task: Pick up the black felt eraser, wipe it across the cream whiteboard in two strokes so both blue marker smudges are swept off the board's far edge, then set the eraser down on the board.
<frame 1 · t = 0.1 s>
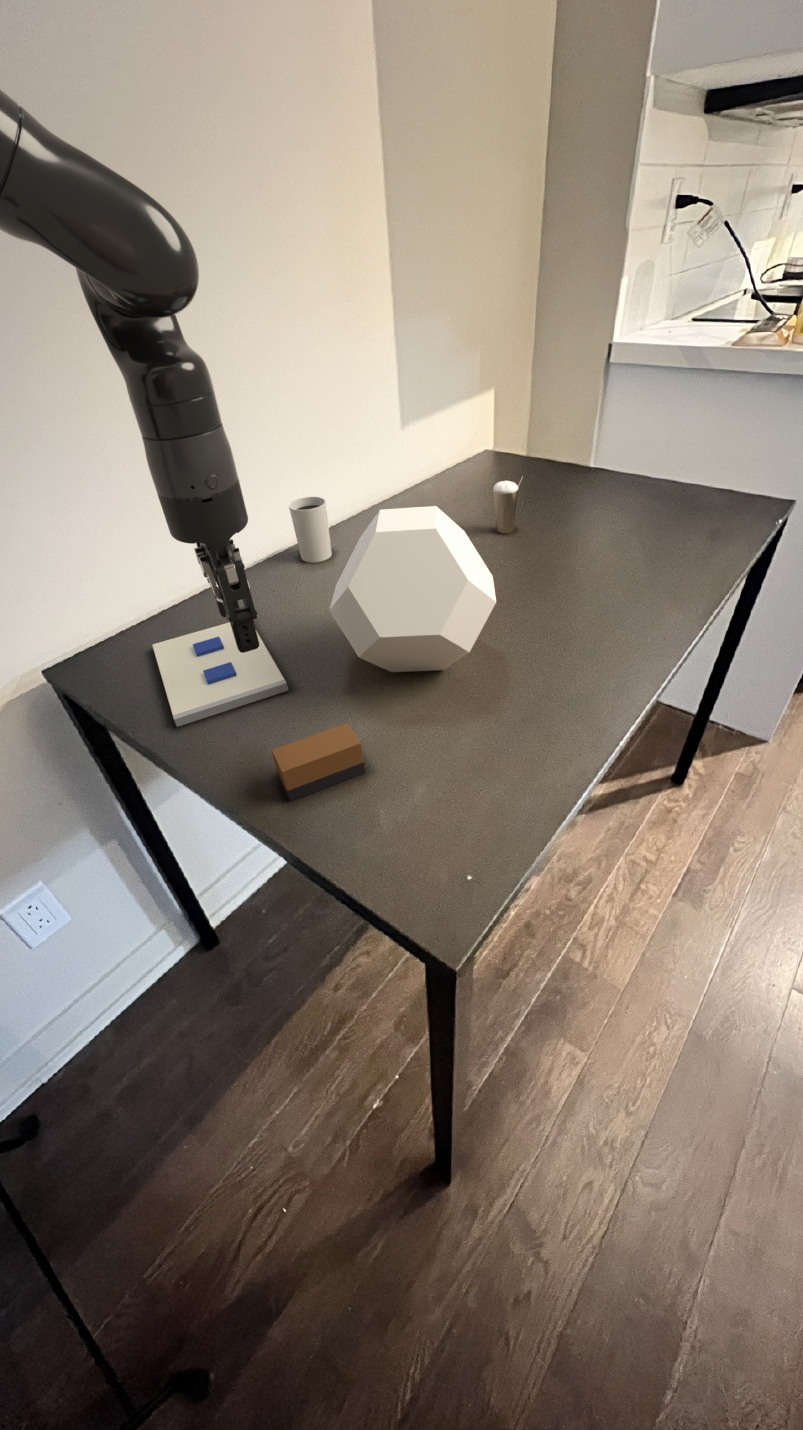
hand: (239, 631, 68), 15 cm above the table, tool pointing down, fingers open, 8 cm apart
smudge front: (220, 674, 86), point 1 cm above the table, touching whiteboard
smudge back: (208, 648, 92), point 1 cm above the table, touching whiteboard
eraser: (322, 776, 70), on the table
drinking glass: (316, 556, 117), on the table
whiteboard: (216, 667, 90), on the table
milkshake: (507, 530, 119), on the table
geometric form: (417, 657, 88), on the table
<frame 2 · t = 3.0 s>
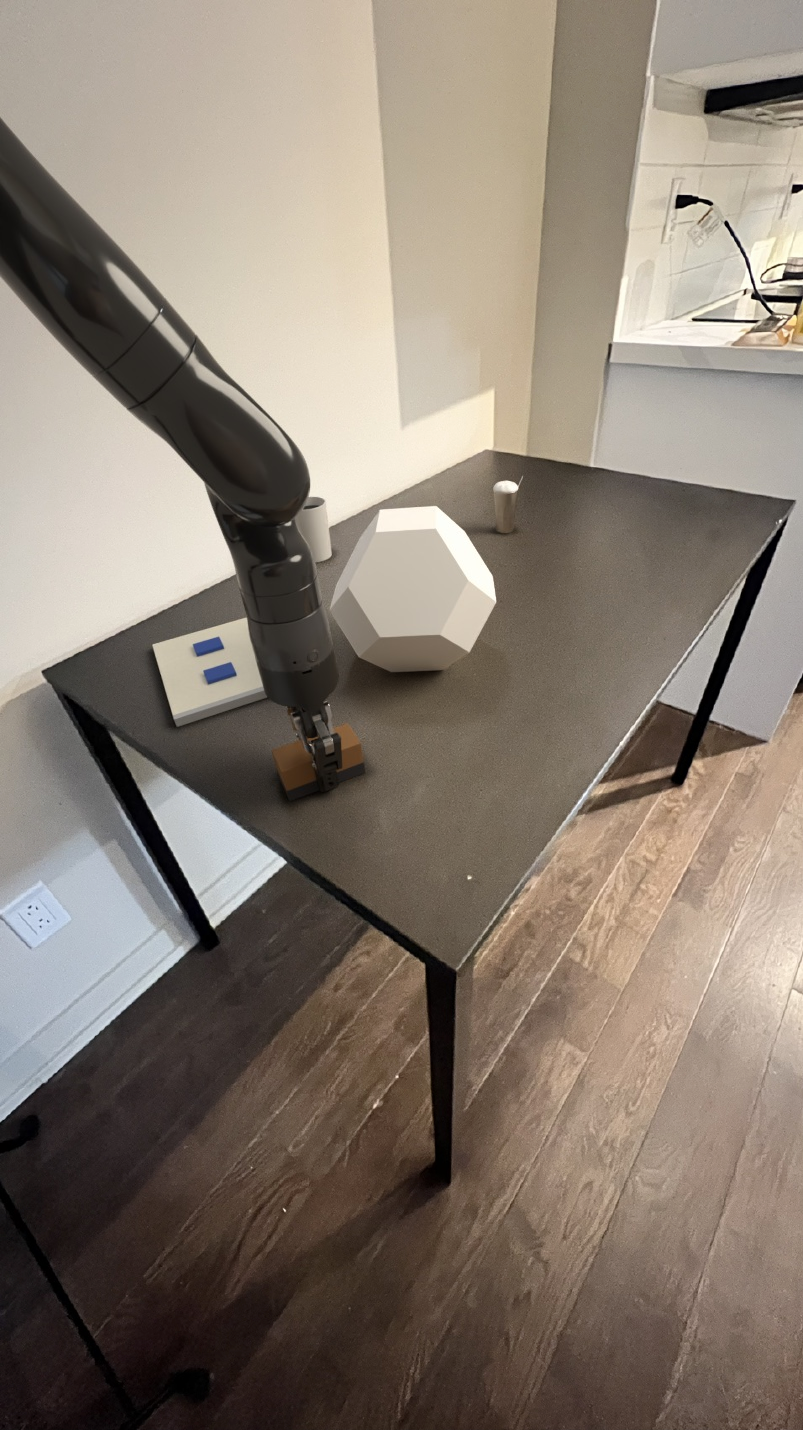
hand: (322, 774, 70), 0 cm above the table, tool pointing down, fingers closed on eraser, 4 cm apart
eraser: (322, 776, 70), on the table, touching gripper
everything else where it was.
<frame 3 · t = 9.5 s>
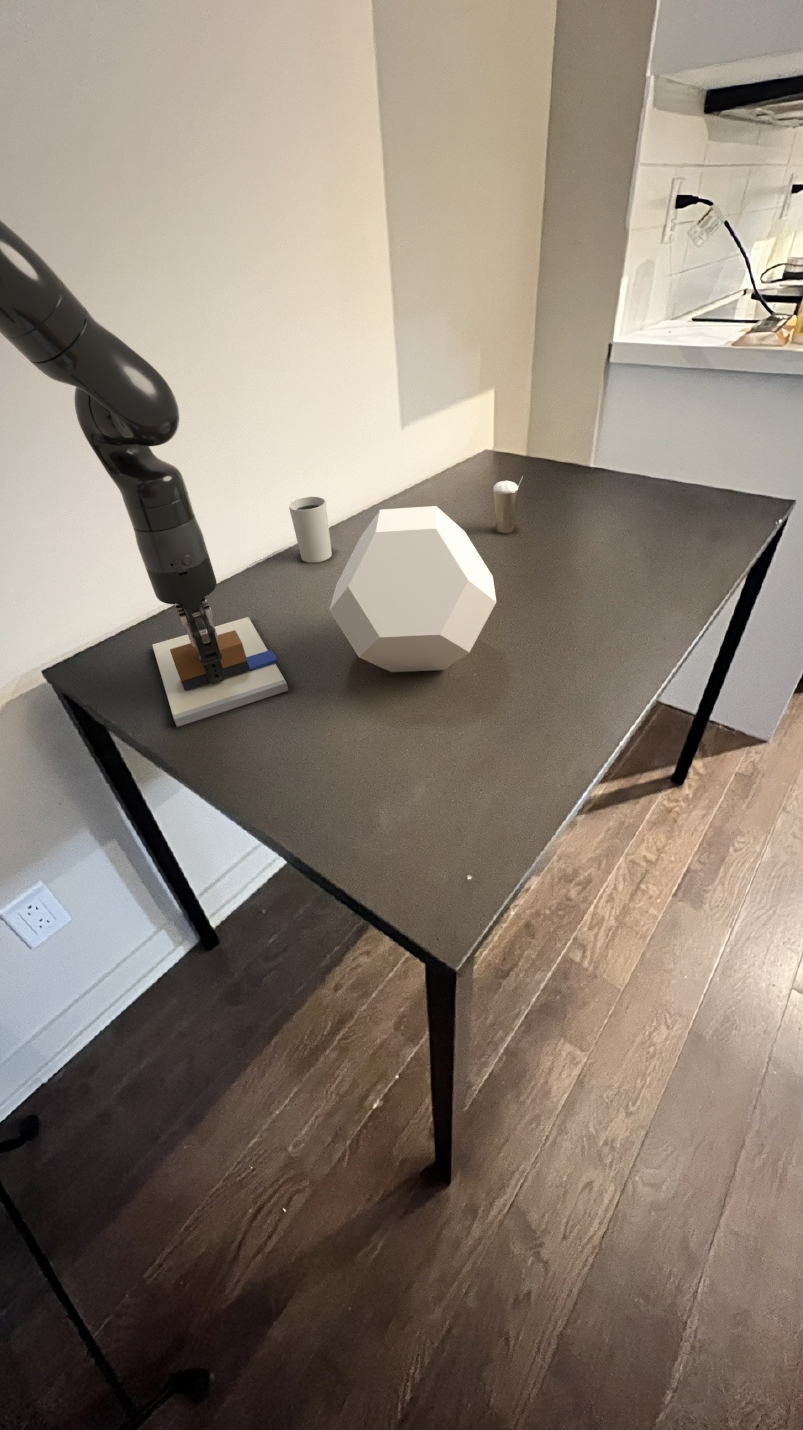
hand: (214, 672, 86), 2 cm above the table, tool pointing down, fingers closed on eraser, 4 cm apart
smudge front: (261, 662, 88), point 1 cm above the table, touching whiteboard
eraser: (214, 673, 86), point 2 cm above the table, touching gripper
everything else where it was.
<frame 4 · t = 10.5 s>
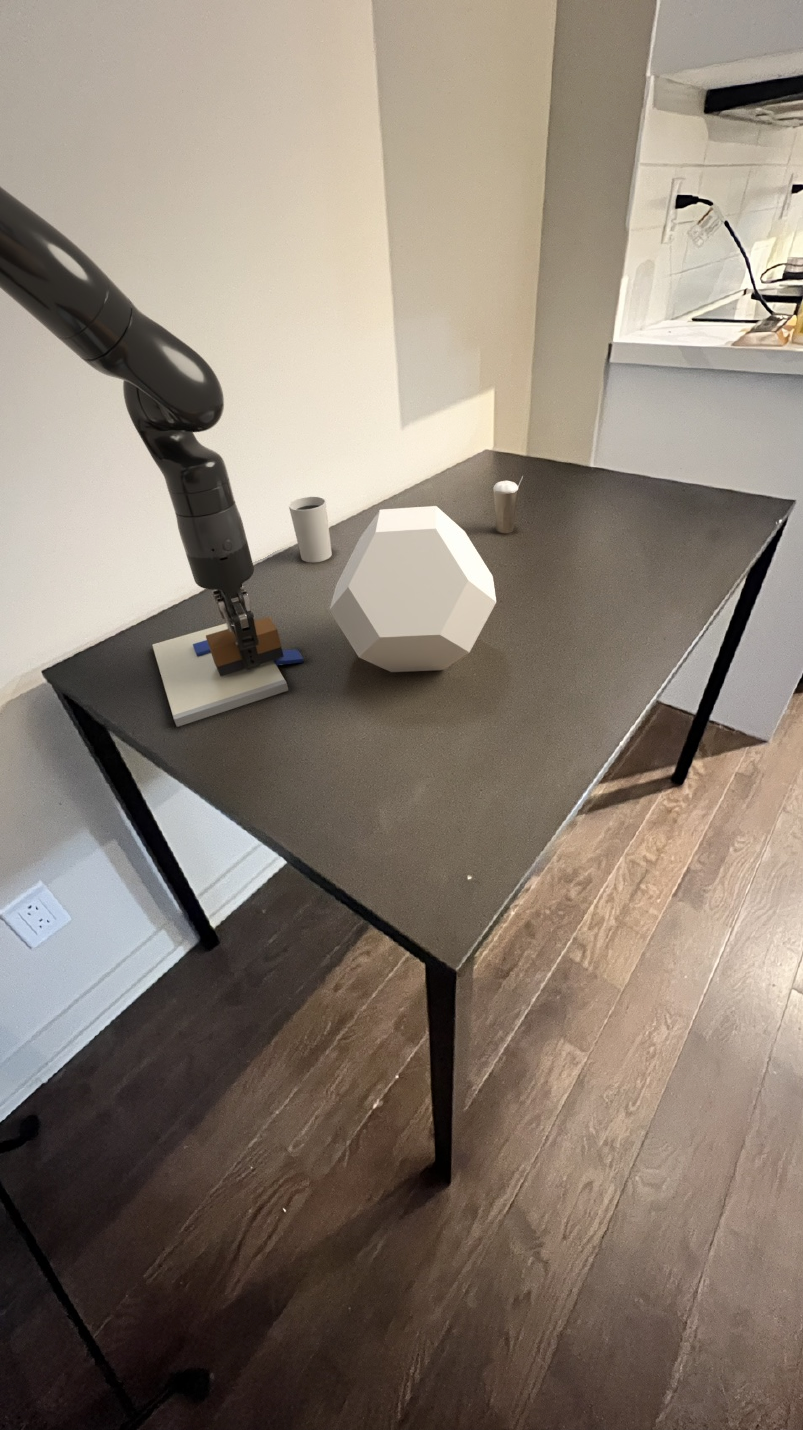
hand: (248, 658, 87), 2 cm above the table, tool pointing down, fingers closed on eraser, 4 cm apart
smudge front: (286, 658, 89), on the table, tilted 13°, touching whiteboard
eraser: (249, 659, 87), point 2 cm above the table, touching gripper
everything else where it was.
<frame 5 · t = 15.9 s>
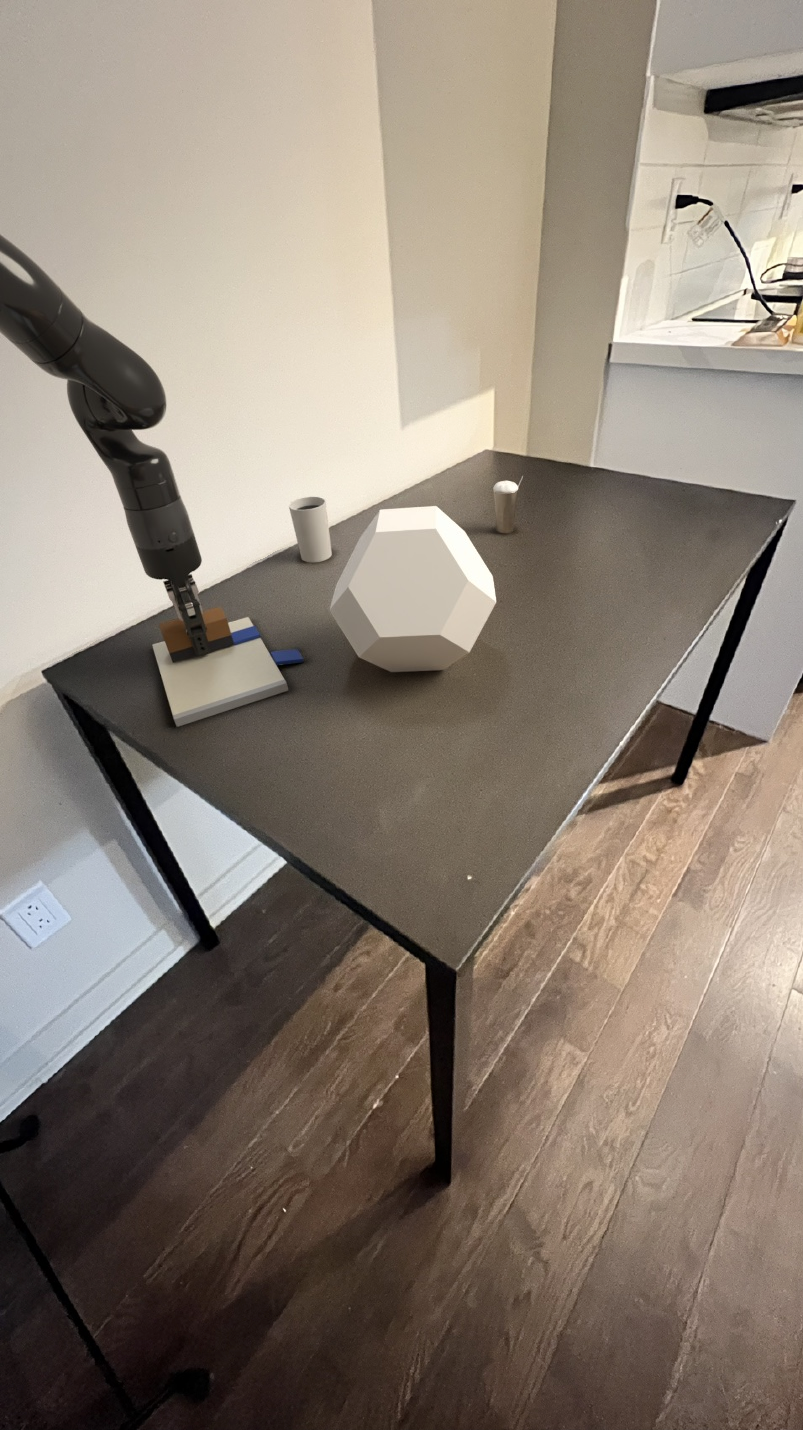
hand: (200, 646, 91), 2 cm above the table, tool pointing down, fingers closed on eraser, 4 cm apart
smudge back: (245, 637, 94), point 1 cm above the table, touching whiteboard
eraser: (201, 647, 92), point 2 cm above the table, touching gripper
everything else where it was.
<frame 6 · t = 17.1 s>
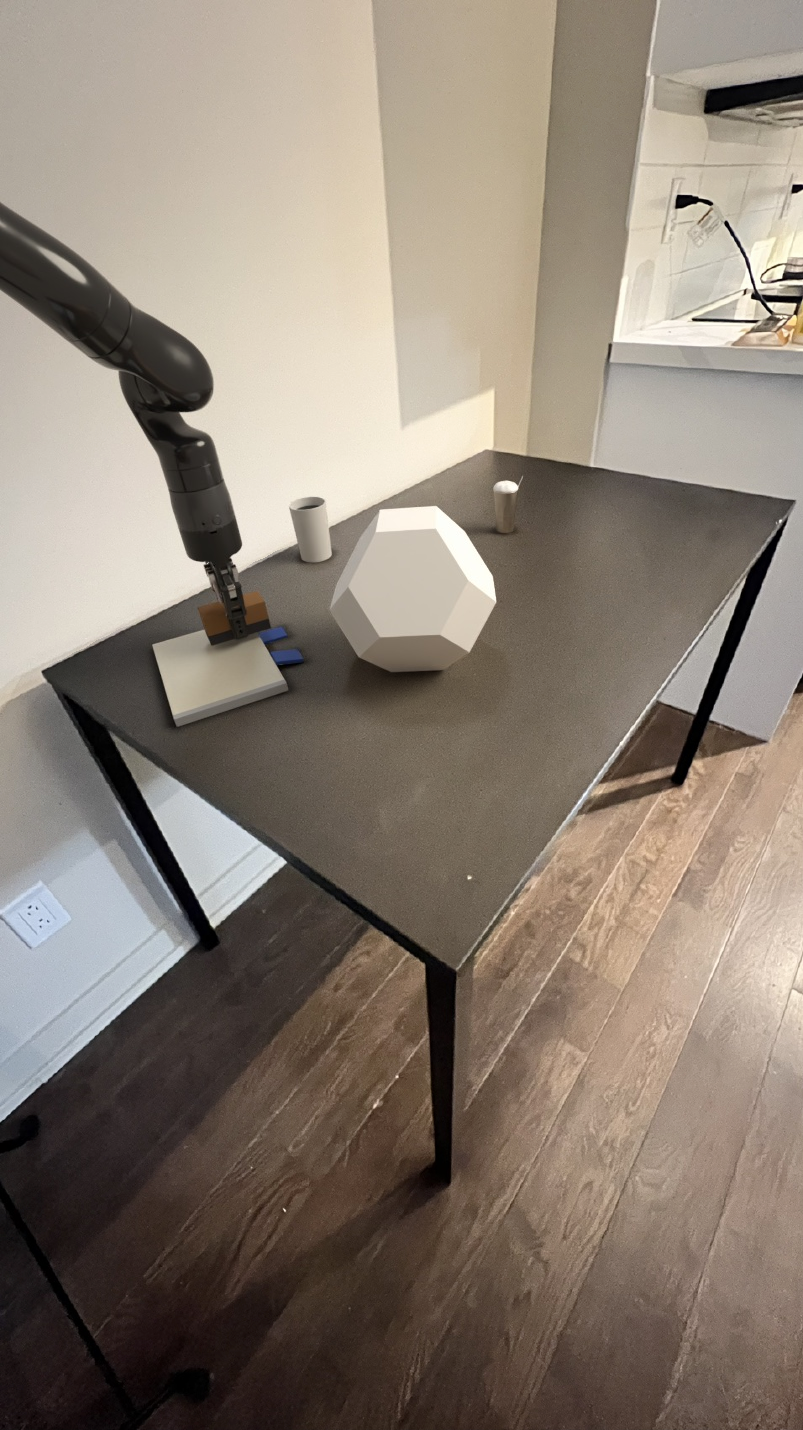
hand: (237, 629, 92), 3 cm above the table, tool pointing down, fingers closed on eraser, 4 cm apart
smudge back: (272, 637, 96), on the table
eraser: (238, 631, 93), point 2 cm above the table, touching gripper
everything else where it was.
when the fingers open (1 cm above the table, at t = 20.7 s): eraser stays where it is, resting on whiteboard.
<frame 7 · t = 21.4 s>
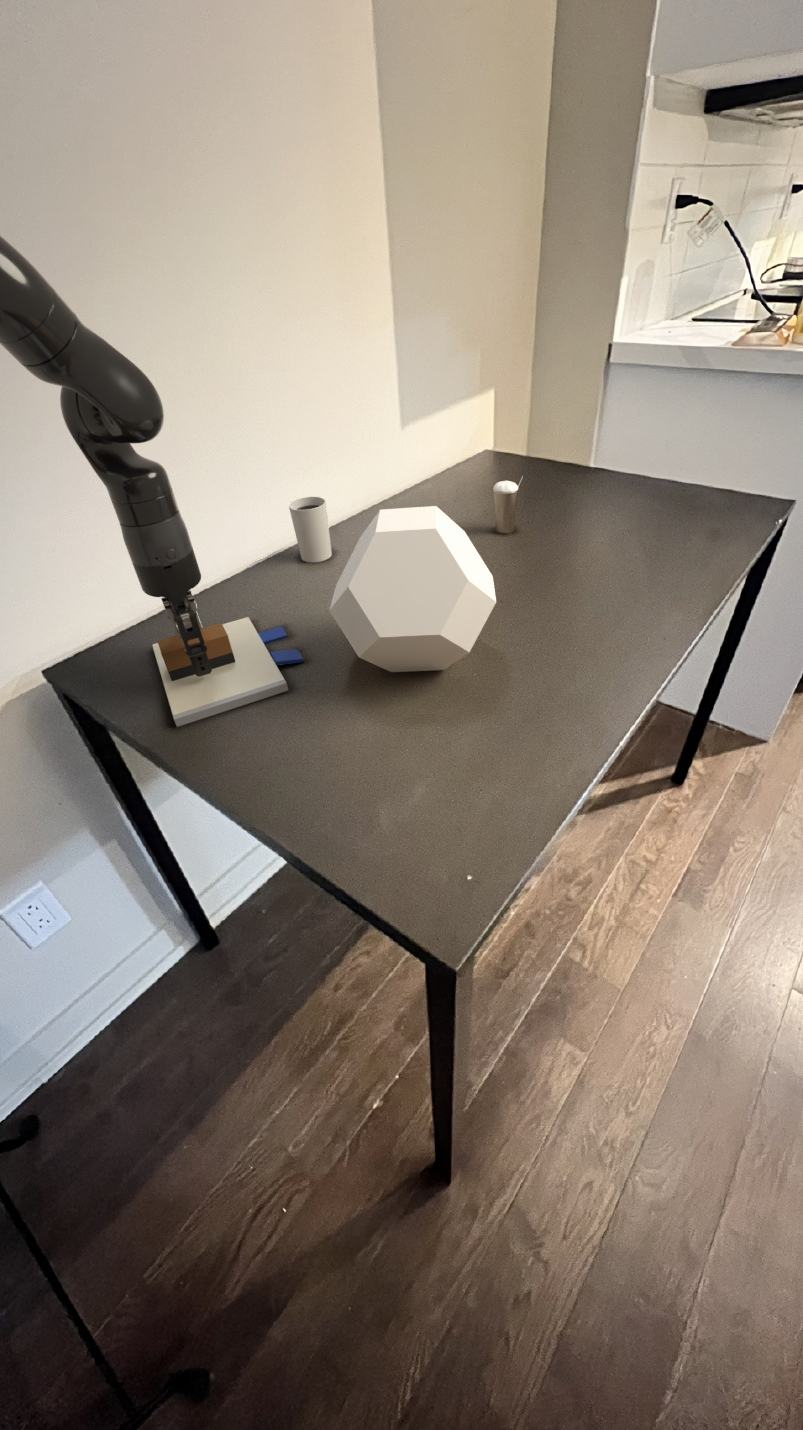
hand: (198, 658, 88), 2 cm above the table, tool pointing down, fingers open, 8 cm apart
eraser: (201, 664, 89), point 1 cm above the table, touching whiteboard
everything else where it was.
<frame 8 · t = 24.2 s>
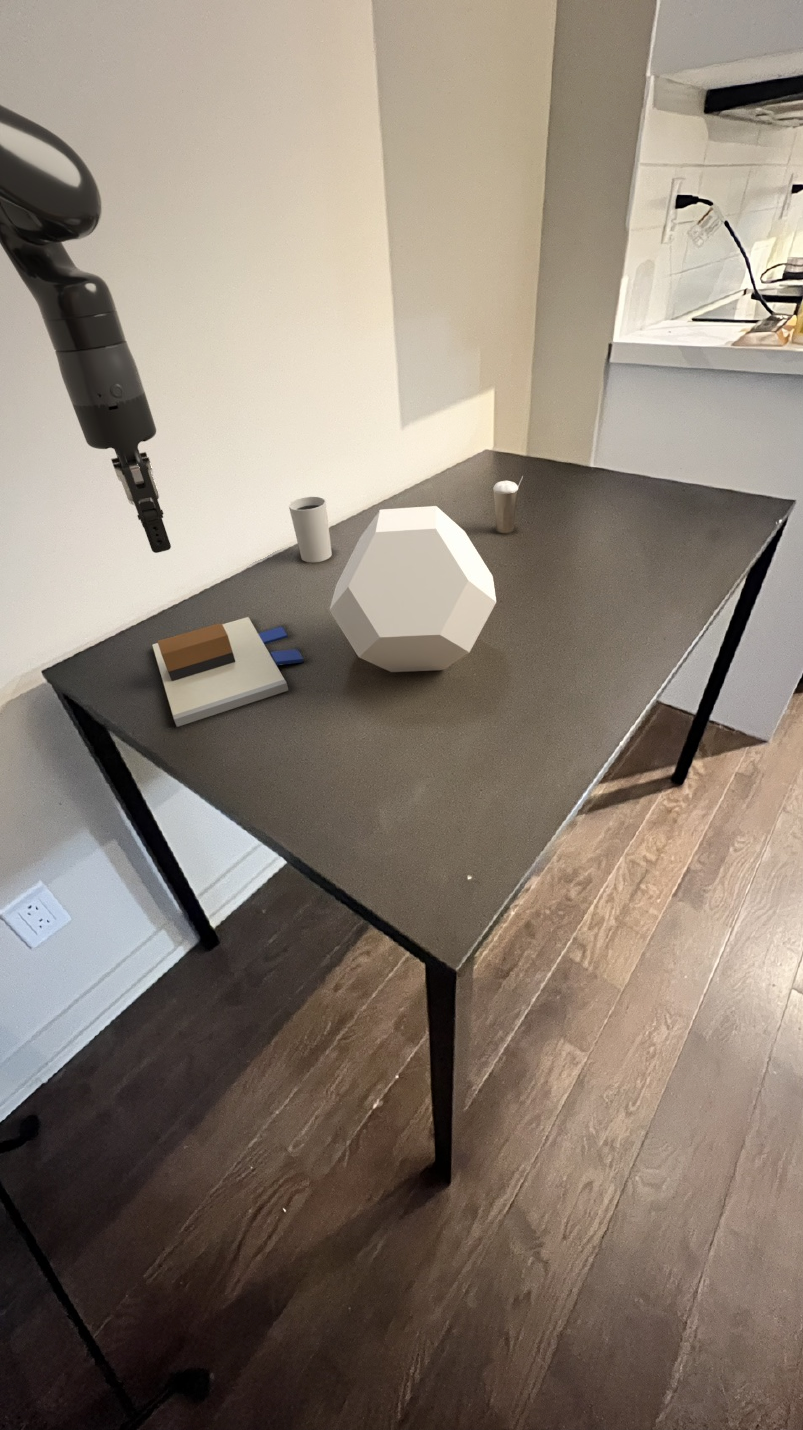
hand: (157, 538, 77), 20 cm above the table, tool pointing down, fingers open, 8 cm apart
nothing on the table moved.
at the end: smudge front on the table; smudge back on the table; eraser inside the target area on the whiteboard (1.9 cm from its centre), point 1.2 cm above the whiteboard's base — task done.
